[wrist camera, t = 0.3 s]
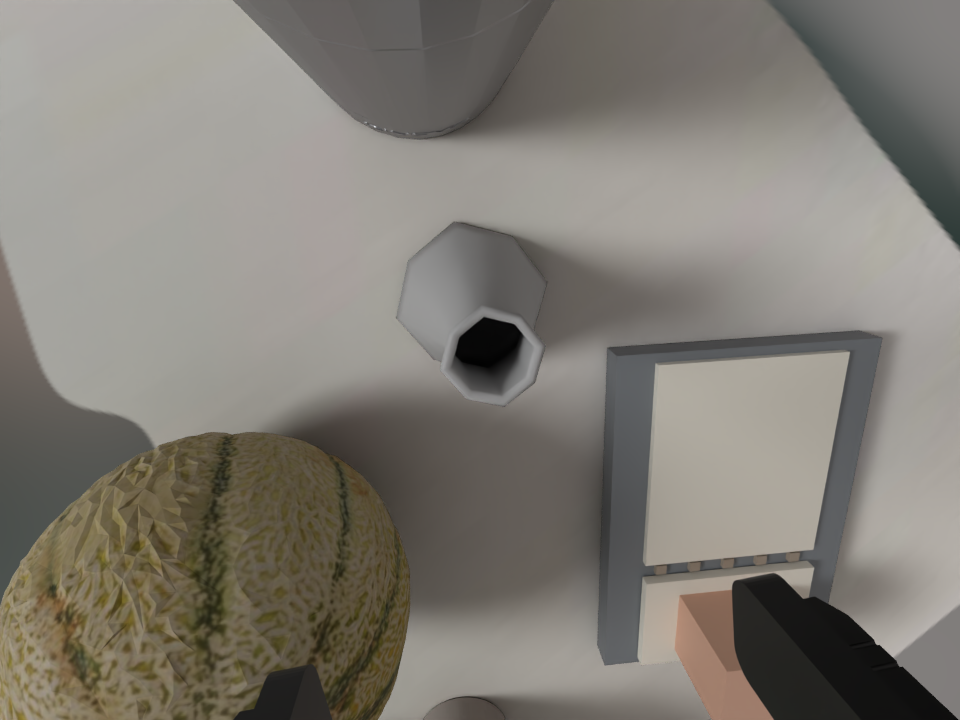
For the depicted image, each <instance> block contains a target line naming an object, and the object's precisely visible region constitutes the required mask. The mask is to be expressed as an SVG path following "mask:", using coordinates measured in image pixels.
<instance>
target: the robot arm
mask: <svg viewBox="0 0 960 720" xmlns="http://www.w3.org/2000/svg"><path fill="white" fill-rule="evenodd" d="M233 1H234V2H235V3H236V4H237V5H238V6H239V7H240V8H241V9H242V10H243V11H244V12H245V13H246V14H247V15H248V16H249V17H250V18H251V19H252V20H253V21H254V22H255V23H256V24H257V25H258V26H259V27H260V28H261V29H262V30H263V31H264V32H265V33H266V34H267V35H268V36H269V37H270V38H271V39H272V40H273V41H274V42H275V43H276V44H277V45H278V46H279V47H280V48H281V49H282V50H283V51H284V52H285V53H286V54H287V55H288V56H289V57H290V58H291V59H292V60H293V61H294V62H295V63H296V64H297V65H298V66H299V67H300V68H301V69H302V70H303V71H304V72H305V73H306V74H307V75H308V76H309V77H310V78H311V79H312V80H313V81H314V82H315V83H316V84H317V85H318V86H319V87H320V88H321V89H322V90H323V91H324V92H325V93H326V94H327V95H328V96H329V97H330V98H331V99H332V100H334V101H335V102H336V103H337V104H338V105H339V106H340V107H341V108H342V109H344V110H345V111H346V112H347V113H348V114H349V115H351V116H352V117H353V118H354V119H355V120H357V121H359V122H361V123H362V124H364V125H366V126H368V127H370V128H371V129H373V130H375V131H378V132H381V133H384V134H387V135H391V136H394V137H397V138H411V139H423V138H430V137H436V136H441V135H444V134H446V133H449V132H451V131H454V130H456V129H459V128H461V127H463V126H464V125H465V124H467V123H468V122H470V121H471V120H473V119H474V118H475V117H477V116H478V115H479V114H480V113H481V112H482V111H483V110H484V109H485V108H486V107H487V106H488V105H489V104H490V103H491V101H492V100H493V99H494V98H495V96H496V95H497V93H498V91H499V90H500V88H501V87H502V85H503V83H504V82H505V80H506V79H507V77H508V75H509V74H510V73H511V71H512V70H513V68H514V66H515V65H516V63H517V61H518V60H519V58H520V56H521V55H522V53H523V51H524V50H525V48H526V46H527V45H528V43H529V41H530V40H531V38H532V36H533V35H534V33H535V31H536V30H537V28H538V26H539V25H540V23H541V21H542V20H543V18H544V16H545V15H546V13H547V11H548V10H549V8H550V6H551V5H552V3H553V1H554V0H233ZM732 607H733V630H734V647H735V652H736V656H737V659H738V662H739V664H740V667H741V669H742V671H743V673H744V676H745V677H746V679H747V681H748V682H749V684H750V686H751V687H752V688H753V690H754V691H755V693H756V694H757V696H758V697H759V699H760V700H761V702H762V703H763V705H764V706H765V708H766V709H767V710H768V712H769V713H770V715H771V716H772V718H773V719H774V720H958V719H957V718H956V717H955V716H954V715H953V714H952V713H951V712H950V711H949V710H948V709H947V708H946V707H945V706H943V705H942V704H941V703H940V702H939V701H938V700H937V699H936V698H935V697H934V696H933V695H932V694H931V693H930V692H929V691H928V690H926V689H925V688H924V687H923V686H922V685H921V684H920V683H919V682H918V681H917V680H916V679H915V678H914V677H913V676H912V675H911V674H910V673H909V672H908V671H906V670H905V669H904V668H903V667H899V666H898V664H897V661H896V660H895V659H894V658H893V657H892V656H891V655H890V654H888V653H887V652H886V651H885V650H884V649H883V648H882V647H881V646H880V645H876V644H875V642H874V639H873V638H872V637H871V636H869V635H868V634H867V633H866V632H865V631H864V630H863V629H862V628H861V627H860V626H859V625H858V624H857V623H856V622H855V621H854V620H853V619H851V618H850V617H849V616H848V615H847V614H845V613H843V612H842V611H840V610H838V609H836V608H835V607H833V606H831V605H829V604H827V603H826V602H824V601H822V600H820V599H819V598H817V597H810V598H805V599H803V598H802V597H801V596H800V595H799V594H798V593H797V592H796V591H795V590H794V589H793V588H792V587H791V586H790V585H789V584H788V583H787V582H786V581H785V580H784V579H783V578H782V577H781V576H779V575H778V574H776V573H769V574H764V575H759V576H754V577H749V578H744V579H739V580H735V581H734V582H733V584H732ZM233 720H332V717H331V714H330V710H329V707H328V704H327V701H326V698H325V694H324V691H323V688H322V685H321V682H320V679H319V675H318V672H317V670H316V668H315V666H314V665H312V664H309V665H304V666H299V667H294V668H289V669H284V670H279V671H274V672H271V673H270V674H269V675H268V676H267V678H266V679H265V682H264V684H263V687H262V689H261V692H260V695H259V697H258V700H257V702H256V705H255V708H254V709H250V710H245V711H240V712H239V713H238V714H237V716H236V717H235V718H234V719H233Z"/></svg>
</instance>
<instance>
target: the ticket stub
mask: <svg viewBox="0 0 960 720" xmlns="http://www.w3.org/2000/svg"><path fill="white" fill-rule="evenodd" d="M813 572H814V567H813V566H812V565H811V564H810V563H809V562H808V561H797V562H787V563H777V564H767V565H757V566H747V567H737V568H727V569H717V570H706V571H696V572H686V573H676V574H666V575H656V576H646V577H643V578H642V594H641V609H640V624H639V640H638V655H637V657H638V660H639V662H640V664H641V666H642V665H651V664H659V663H668V662H677V661H681V662H682V664H683V666H684V668H685V670H686V672H687V673H688V675H689V677H690V679H691V681H692V683H693V685H694V687H695V688H696V690H697V692H698V694H699V696H700V698H701V700H702V702H703V703H704V705H705V707H706V709H707V711H708V713H709V715H710V717H711V718H712V720H774V719H773V718H772V716H771V715H770V713H769V712H768V710H767V709H766V708H765V706H764V705H763V703H762V702H761V700H760V699H759V697H758V696H757V694H756V693H755V691H754V690H753V688H752V687H751V686H750V684H749V682H748V681H747V679H746V677H745V676H744V673H743V671H742V669H741V667H740V664H739V662H738V659H737V656H736V652H735V647H734V630H733V607H732V584H733V582H734V581H735V580H739V579H744V578H749V577H754V576H759V575H764V574H769V573H776V574H778V575H779V576H781V577H782V578H783V579H784V580H785V581H786V582H787V583H788V584H789V585H790V586H791V587H792V588H793V589H794V590H795V591H796V592H797V593H798V594H799V595H800V596H801V597H802V598H803V599H805V598H809V593H810V588H811V582H812V577H813Z"/></svg>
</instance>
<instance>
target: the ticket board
mask: <svg viewBox="0 0 960 720" xmlns="http://www.w3.org/2000/svg"><path fill="white" fill-rule="evenodd" d="M881 343H882V338H881V337H878V336H875V335H872V334H868V333H865V332H862V331H848V332H833V333H818V334H803V335H788V336H774V337H759V338H744V339H729V340H715V341H700V342H685V343H670V344H655V345H641V346H626V347H611V348H607V372H606V402H605V432H604V462H603V492H602V521H601V551H600V581H599V611H598V641H597V646H598V648H599V651H600V654H601V656H602V659H603V662H604V665H613V664H622V663H631V662H639V660H638V657H637V655H638V640H639V624H640V609H641V594H642V578H643V577H646V576H656V575H666V574H676V573H686V572H696V571H706V570H717V569H727V568H737V567H747V566H757V565H767V564H777V563H787V562H797V561H808V562H809V563H810V564H811V565H812V566H813V567H814V572H813V577H812V582H811V588H810V593H809V598H810V597H817V598H819V599H820V600H822V601H824V602H826V603H827V604H828V602H829V597H830V592H831V587H832V582H833V577H834V573H835V568H836V563H837V558H838V553H839V548H840V543H841V538H842V533H843V529H844V524H845V519H846V514H847V509H848V504H849V499H850V494H851V489H852V484H853V480H854V475H855V470H856V465H857V460H858V455H859V450H860V445H861V440H862V436H863V431H864V426H865V421H866V416H867V411H868V406H869V401H870V396H871V392H872V387H873V382H874V377H875V372H876V367H877V362H878V357H879V352H880V348H881Z"/></svg>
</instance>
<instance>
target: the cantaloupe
mask: <svg viewBox="0 0 960 720" xmlns="http://www.w3.org/2000/svg"><path fill="white" fill-rule="evenodd" d="M409 612H410V570H409V566H408V562H407V559H406V555H405V552H404V549H403V546H402V543H401V539H400V536H399V533H398V531H397V530H396V528H395V526H394V524H393V523H392V520H391V517H390V515H389V513H388V511H387V509H386V507H385V505H384V503H383V501H382V499H381V498H380V496H379V494H378V493H377V492H376V490H375V489H374V488H373V487H372V486H371V485H370V484H369V483H368V482H367V481H366V479H365V478H364V477H363V476H362V475H361V474H359V473H358V472H357V471H355V470H354V469H353V468H352V467H351V466H349V465H348V464H346V463H345V462H343V461H342V460H340V459H339V458H338V457H337V456H333V455H330V454H325V453H324V452H323V451H322V450H321V449H319V448H318V447H316V446H313V445H311V444H309V443H307V442H305V441H302V440H298V439H295V438H290V437H286V436H281V435H276V434H270V433H257V432H245V433H240V434H234V435H231V434H227V433H217V432H211V433H205V434H201V435H197V436H191V437H185V438H182V439H179V440H176V441H173V442H168V443H165V444H162V445H159V446H158V447H157V448H155V449H153V450H151V451H147V452H144V453H141V454H139V455H137V456H135V457H134V458H132V459H131V460H130V461H128V462H126V463H123V464H121V465H120V466H118V467H117V468H116V469H115V470H113V471H112V472H110V473H108V474H106V475H105V476H103V477H102V478H100V479H99V480H98V481H96V482H95V483H94V484H93V485H92V487H90V488H89V489H88V490H87V491H86V492H85V493H84V494H83V495H82V496H81V497H80V498H79V499H77V500H76V501H75V502H73V503H72V504H70V505H69V506H68V507H67V509H66V510H65V511H64V512H63V513H62V514H61V515H60V516H59V517H58V518H57V519H56V520H54V521H53V522H52V523H51V524H50V525H49V526H48V528H47V529H46V530H45V531H44V532H43V534H42V535H41V536H40V537H39V539H38V540H37V541H36V543H35V544H34V545H33V547H32V548H31V550H30V552H29V553H28V555H27V556H26V557H25V558H24V559H23V560H21V562H20V567H19V568H18V569H17V571H16V572H15V574H14V575H13V577H12V579H11V581H10V584H9V586H8V588H7V589H6V591H5V593H4V596H3V600H2V603H1V606H0V720H233V719H234V718H235V717H236V716H237V714H238V713H239V712H240V711H245V710H250V709H254V708H255V705H256V702H257V700H258V697H259V695H260V692H261V689H262V687H263V684H264V682H265V679H266V678H267V676H268V675H269V674H270V673H271V672H274V671H279V670H284V669H289V668H294V667H299V666H304V665H309V664H312V665H314V666H315V668H316V670H317V672H318V675H319V679H320V682H321V685H322V688H323V691H324V694H325V698H326V701H327V704H328V707H329V710H330V714H331V717H332V720H378V718H379V717H380V715H381V714H382V712H383V709H384V707H385V705H386V703H387V701H388V700H389V698H390V695H391V692H392V690H393V687H394V684H395V681H396V678H397V674H398V669H399V665H400V661H401V656H402V652H403V648H404V643H405V639H406V633H407V626H408V619H409Z"/></svg>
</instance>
